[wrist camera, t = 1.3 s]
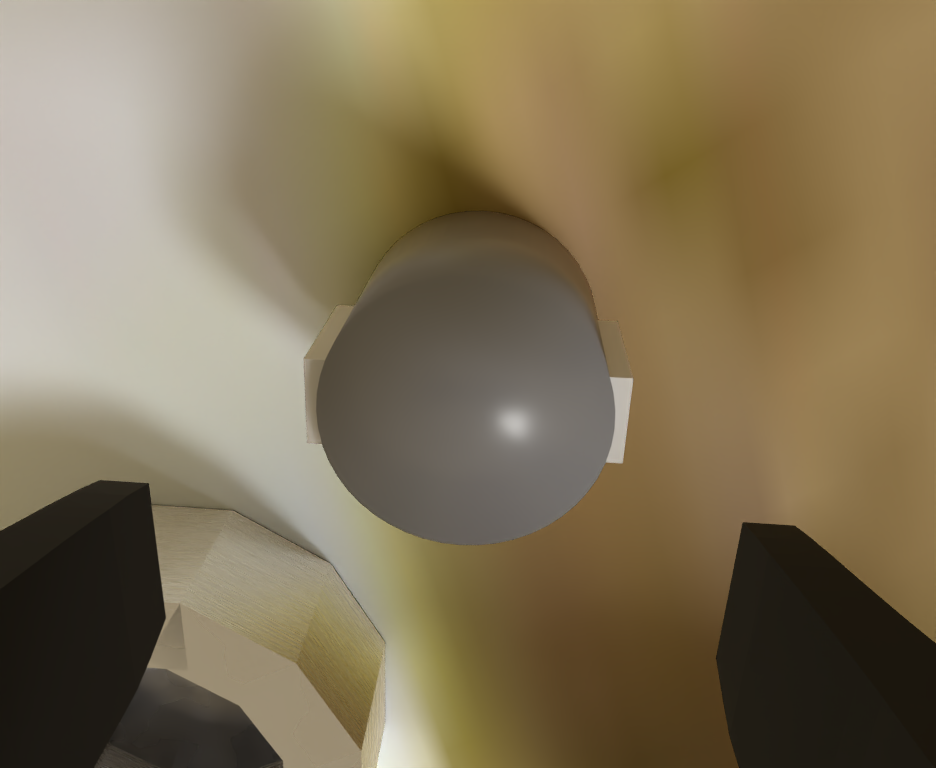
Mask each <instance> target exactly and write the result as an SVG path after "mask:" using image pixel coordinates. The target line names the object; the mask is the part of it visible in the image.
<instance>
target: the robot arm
mask: <svg viewBox="0 0 936 768" xmlns="http://www.w3.org/2000/svg"><path fill="white" fill-rule="evenodd" d="M165 620H166V614H165V606H164V598H163V591H162V583H161V575H160V567H159V560H158V552H157V544H156V536H155V529H154V521H153V513H152V505H151V497H150V490H149V483H134V482H119V481H103V480H100V481H97V482H95V483H93V484H90V485H88V486H86V487H84V488H81V489H79V490H77V491H75V492H73V493H71V494H69V495H67V496H65V497H63V498H61V499H59V500H57V501H56V502H54V503H52V504H50V505H48V506H46V507H44V508H42V509H41V510H39V511H37V512H35V513H33V514H31V515H29V516H28V517H26V518H24V519H22V520H20V521H18V522H16V523H15V524H13V525H11V526H9V527H7V528H5V529H4V530H2V531H0V768H94V767H95V765H96V763H97V761H98V760H99V758H100V756H101V754H102V753H103V751H104V749H105V747H106V746H107V744H108V742H109V740H110V739H111V737H112V735H113V733H114V731H115V730H116V728H117V726H118V724H119V723H120V721H121V719H122V717H123V715H124V714H125V712H126V710H127V708H128V706H129V705H130V703H131V701H132V699H133V697H134V695H135V694H136V692H137V690H138V687H139V685H140V682H141V680H142V678H143V675H144V673H145V671H146V668H147V666H148V663H149V661H150V659H151V656H152V654H153V651H154V648H155V646H156V643H157V641H158V638H159V635H160V633H161V630H162V628H163V625H164V622H165ZM716 660H717V666H718V672H719V679H720V685H721V691H722V697H723V703H724V708H725V714H726V719H727V725H728V730H729V735H730V739H731V742H732V746H733V749H734V753H735V756H736V759H737V763H738V766H739V768H936V643H935V642H933V641H932V640H931V639H930V638H928V637H927V636H926V635H925V634H924V633H922V632H921V631H920V630H919V629H917V628H916V627H915V626H914V625H913V624H911V623H910V622H909V621H908V620H907V619H905V618H904V617H903V616H902V615H901V614H899V613H898V612H897V611H896V610H895V609H893V608H892V607H891V606H890V605H889V604H887V603H886V602H885V601H884V600H883V599H882V598H880V597H879V596H878V595H877V594H876V593H874V592H873V591H872V590H871V589H870V588H869V587H867V586H866V585H865V584H864V583H863V582H862V581H861V580H859V579H858V578H857V577H856V576H855V575H854V574H852V573H851V572H850V571H849V570H848V569H847V568H845V567H844V566H843V565H842V564H841V563H840V562H839V561H837V560H836V559H835V558H834V557H833V556H832V555H830V554H829V553H828V552H827V551H826V550H825V549H823V548H822V547H821V546H820V545H819V544H817V543H816V542H815V541H814V540H813V539H811V538H810V537H809V536H808V535H806V534H805V533H804V532H802V531H801V530H800V529H798V528H797V527H796V526H790V525H775V524H760V523H745V522H743V524H742V529H741V534H740V539H739V544H738V549H737V554H736V559H735V564H734V569H733V575H732V580H731V585H730V590H729V595H728V600H727V605H726V610H725V615H724V620H723V625H722V630H721V636H720V641H719V646H718V651H717V656H716Z"/></svg>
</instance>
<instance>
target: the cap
mask: <svg viewBox="0 0 936 768" xmlns="http://www.w3.org/2000/svg"><path fill="white" fill-rule="evenodd" d="M304 377H305V401H306V425H307V443H314V444H322V445H323V448H324V450H325V453H326V455H327V458H328V460H329V462H330V464H331V466H332V467H333V469H334V471H335V473H336V474H337V476H338V477H339V479H340V480H341V481H342V483H343V484H344V485H345V487H346V488H347V489H348V491H349V492H350V493H351V494H352V495H353V496H354V497H355V498H356V499H357V500H358V501H359V502H360V503H361V504H362V505H363V506H365V507H366V508H367V509H368V510H369V511H371V512H372V513H373V514H374V515H376V516H377V517H379V518H381V519H382V520H384V521H385V522H387V523H388V524H390V525H392V526H394V527H396V528H398V529H400V530H402V531H404V532H407V533H409V534H412V535H415V536H418V537H421V538H424V539H428V540H432V541H436V542H440V543H448V544H456V545H484V544H494V543H500V542H504V541H509V540H514V539H517V538H520V537H523V536H526V535H529V534H531V533H533V532H535V531H538V530H540V529H542V528H544V527H546V526H548V525H549V524H551V523H552V522H554V521H556V520H557V519H559V518H560V517H562V516H563V515H564V514H566V513H567V512H568V511H569V510H570V509H572V508H573V507H574V506H575V505H576V504H577V503H578V502H579V501H580V500H581V499H582V498H583V497H584V496H585V494H586V493H587V492H588V491H589V489H590V488H591V487H592V485H593V484H594V482H595V481H596V480H597V478H598V476H599V474H600V472H601V470H602V468H603V467H604V465H605V463H606V462H609V463H623V457H624V449H625V441H626V433H627V425H628V417H629V409H630V401H631V393H632V385H633V375H632V372H631V368H630V364H629V361H628V357H627V353H626V350H625V346H624V342H623V339H622V335H621V331H620V328H619V324H618V321H609V320H598V318H597V313H596V308H595V304H594V300H593V296H592V292H591V289H590V286H589V284H588V281H587V279H586V277H585V275H584V273H583V271H582V270H581V268H580V266H579V264H578V263H577V261H576V260H575V259H574V258H573V256H572V255H571V254H570V252H569V251H568V250H567V249H566V248H565V247H564V246H563V245H562V244H561V243H560V242H559V241H558V240H556V239H555V238H554V237H552V236H551V235H550V234H548V233H547V232H546V231H544V230H543V229H541V228H539V227H537V226H535V225H534V224H532V223H530V222H527V221H525V220H522V219H520V218H517V217H514V216H510V215H506V214H502V213H497V212H489V211H465V212H458V213H451V214H448V215H444V216H441V217H437V218H435V219H432V220H430V221H428V222H425V223H423V224H421V225H419V226H418V227H416V228H414V229H413V230H411V231H409V232H408V233H407V234H406V235H404V236H403V237H402V238H401V239H399V240H398V241H397V242H396V243H395V244H394V245H393V246H392V247H391V248H390V249H389V250H388V251H387V252H386V254H385V255H384V257H383V258H382V259H381V261H380V262H379V264H378V265H377V267H376V269H375V270H374V272H373V274H372V276H371V277H370V279H369V281H368V283H367V285H366V286H365V288H364V290H363V292H362V293H361V295H360V297H359V299H358V301H357V302H356V304H355V306H347V305H337V306H336V308H335V309H334V311H333V312H332V314H331V316H330V317H329V319H328V320H327V322H326V324H325V325H324V327H323V329H322V330H321V332H320V333H319V335H318V337H317V338H316V340H315V341H314V343H313V345H312V346H311V348H310V349H309V351H308V353H307V354H306V356H305V357H304Z"/></svg>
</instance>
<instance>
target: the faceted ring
mask: <svg viewBox="0 0 936 768" xmlns="http://www.w3.org/2000/svg"><path fill="white" fill-rule="evenodd" d="M152 513H153V521H154V529H155V536H156V544H157V552H158V560H159V567H160V575H161V583H162V591H163V598H164V606H165V614H166V620H165V622H164V625H163V628H162V630H161V633H160V635H159V638H158V641H157V643H156V646H155V648H154V651H153V654H152V656H151V659H150V661H149V663H148V666H147V668H146V671H145V673H144V675H143V678H142V680H141V682H140V685H139V687H138V690H137V692H136V694H135V695H134V697H133V699H132V701H131V703H130V705H129V706H128V708H127V710H126V712H125V714H124V715H123V717H122V719H121V721H120V723H119V724H118V726H117V728H116V730H115V731H114V733H113V735H112V737H111V739H110V740H109V742H108V744H107V746H106V747H105V749H104V751H103V753H102V754H101V756H100V758H99V760H98V761H97V763H96V765H95V767H94V768H376V767H377V762H378V757H379V752H380V747H381V741H382V736H383V731H384V726H385V642H384V640H383V639H382V637H381V636H380V635H379V633H378V632H377V630H376V629H375V627H374V626H373V624H372V623H371V621H370V620H369V619H368V617H367V616H366V614H365V613H364V611H363V610H362V608H361V607H360V606H359V604H358V603H357V601H356V600H355V598H354V597H353V595H352V594H351V592H350V591H349V590H348V588H347V587H346V585H345V584H344V582H343V581H342V579H341V578H340V576H339V575H338V574H337V572H336V571H335V569H334V568H333V566H332V565H331V564H330V563H329V562H327V561H325V560H323V559H321V558H319V557H318V556H316V555H314V554H312V553H310V552H308V551H307V550H305V549H303V548H301V547H299V546H297V545H295V544H294V543H292V542H290V541H288V540H286V539H284V538H283V537H281V536H279V535H277V534H275V533H273V532H272V531H270V530H268V529H266V528H264V527H262V526H261V525H259V524H257V523H255V522H253V521H251V520H250V519H248V518H246V517H244V516H242V515H240V514H239V513H237V512H235V511H232V510H218V509H203V508H188V507H173V506H158V505H152Z"/></svg>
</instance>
